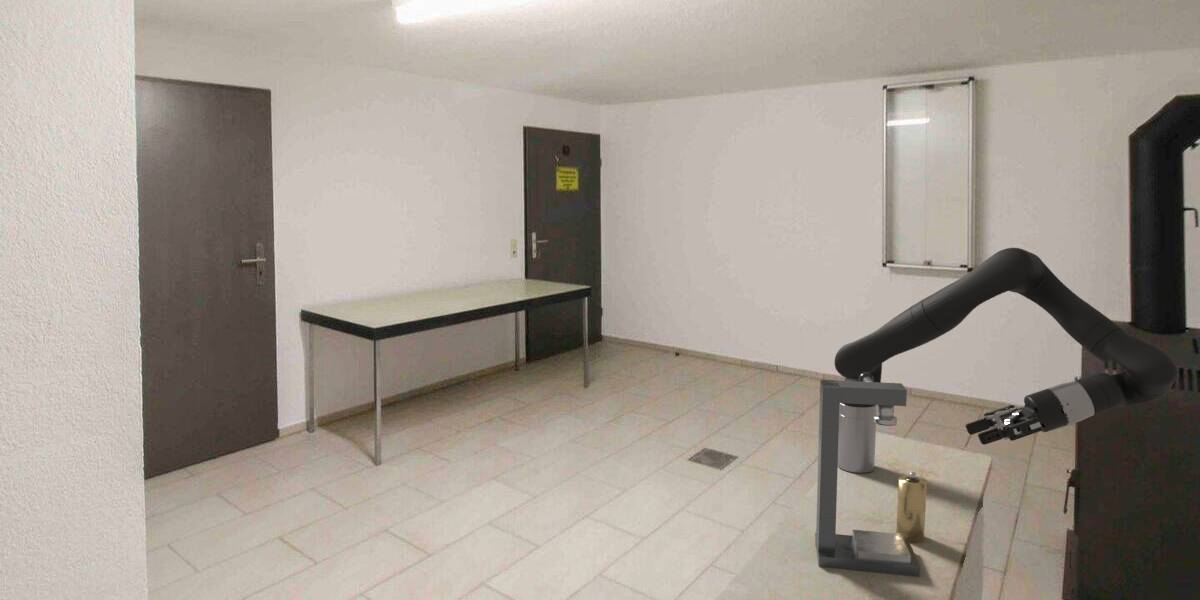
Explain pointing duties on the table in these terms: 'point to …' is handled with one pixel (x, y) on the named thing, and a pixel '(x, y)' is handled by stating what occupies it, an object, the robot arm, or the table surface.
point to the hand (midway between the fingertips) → (973, 434)
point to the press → (833, 548)
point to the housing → (911, 508)
